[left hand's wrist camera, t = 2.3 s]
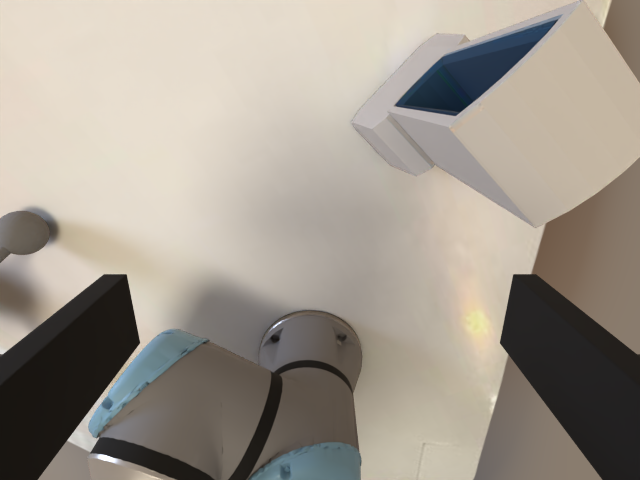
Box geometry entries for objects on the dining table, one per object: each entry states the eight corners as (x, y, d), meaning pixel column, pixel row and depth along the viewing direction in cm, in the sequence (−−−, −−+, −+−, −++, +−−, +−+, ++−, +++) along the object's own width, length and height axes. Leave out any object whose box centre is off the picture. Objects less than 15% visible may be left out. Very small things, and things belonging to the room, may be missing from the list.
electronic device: (390, 165, 46) (493, 274, 18) (347, 120, 44) (388, 164, 16) (471, 86, 43) (753, 70, 15) (429, 35, 41) (659, -97, 13)
